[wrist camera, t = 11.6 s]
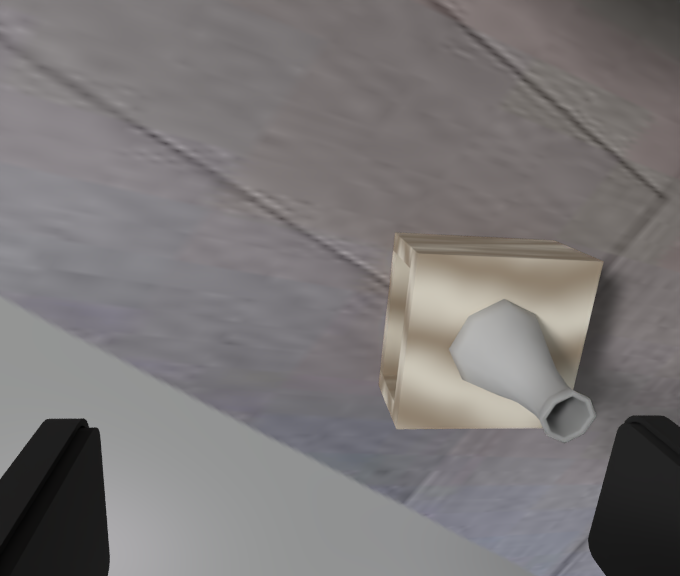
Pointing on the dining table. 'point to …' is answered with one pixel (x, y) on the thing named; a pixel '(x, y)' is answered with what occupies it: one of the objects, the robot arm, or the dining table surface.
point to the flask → (520, 368)
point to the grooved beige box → (464, 300)
